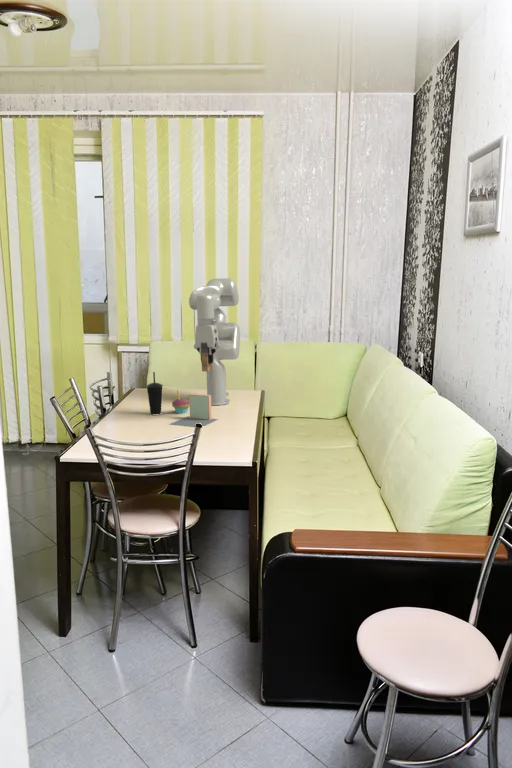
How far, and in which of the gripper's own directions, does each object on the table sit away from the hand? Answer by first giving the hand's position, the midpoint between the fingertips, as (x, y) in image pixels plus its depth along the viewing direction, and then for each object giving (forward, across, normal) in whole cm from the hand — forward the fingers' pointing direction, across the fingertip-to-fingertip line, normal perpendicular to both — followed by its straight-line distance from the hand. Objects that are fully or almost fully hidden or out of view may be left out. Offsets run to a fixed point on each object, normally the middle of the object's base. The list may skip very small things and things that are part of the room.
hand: (207, 362), depth 282 cm
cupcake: (+25, +15, 0) cm, 29 cm away
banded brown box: (+4, 0, 0) cm, 4 cm away
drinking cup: (+25, +26, +5) cm, 36 cm away
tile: (+24, 0, +8) cm, 26 cm away
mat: (+25, 0, +14) cm, 29 cm away
